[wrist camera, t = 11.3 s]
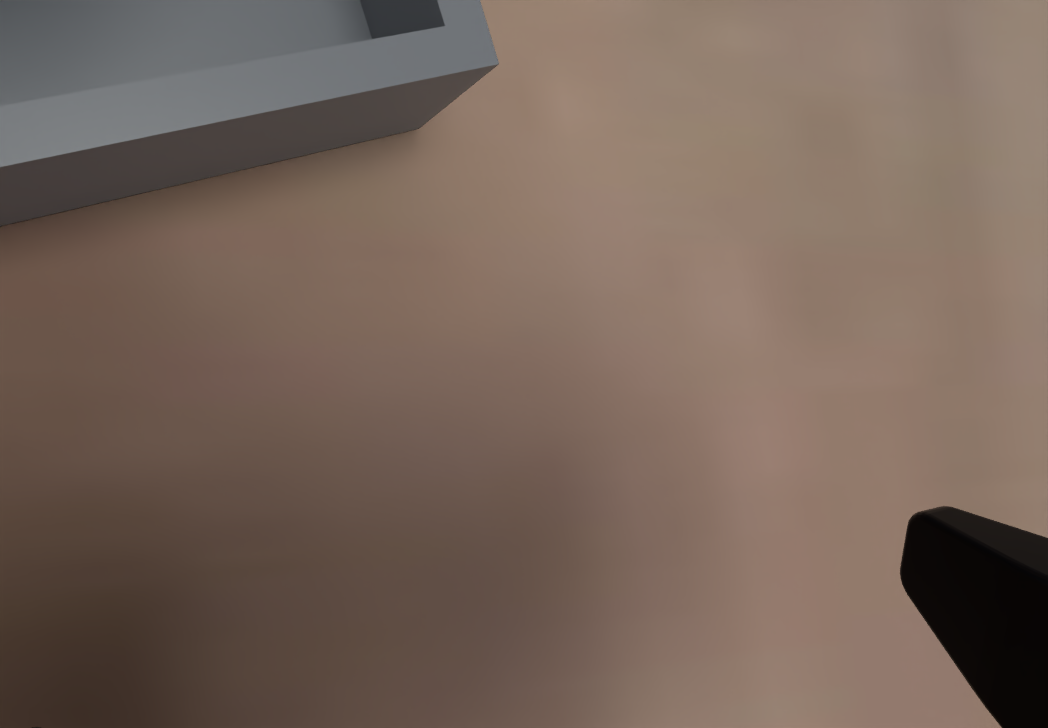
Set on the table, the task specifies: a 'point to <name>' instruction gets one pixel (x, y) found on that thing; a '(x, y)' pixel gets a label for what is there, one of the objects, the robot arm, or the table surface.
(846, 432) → the table surface
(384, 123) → the tray
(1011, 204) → the table surface
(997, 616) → the robot arm
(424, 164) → the table surface
